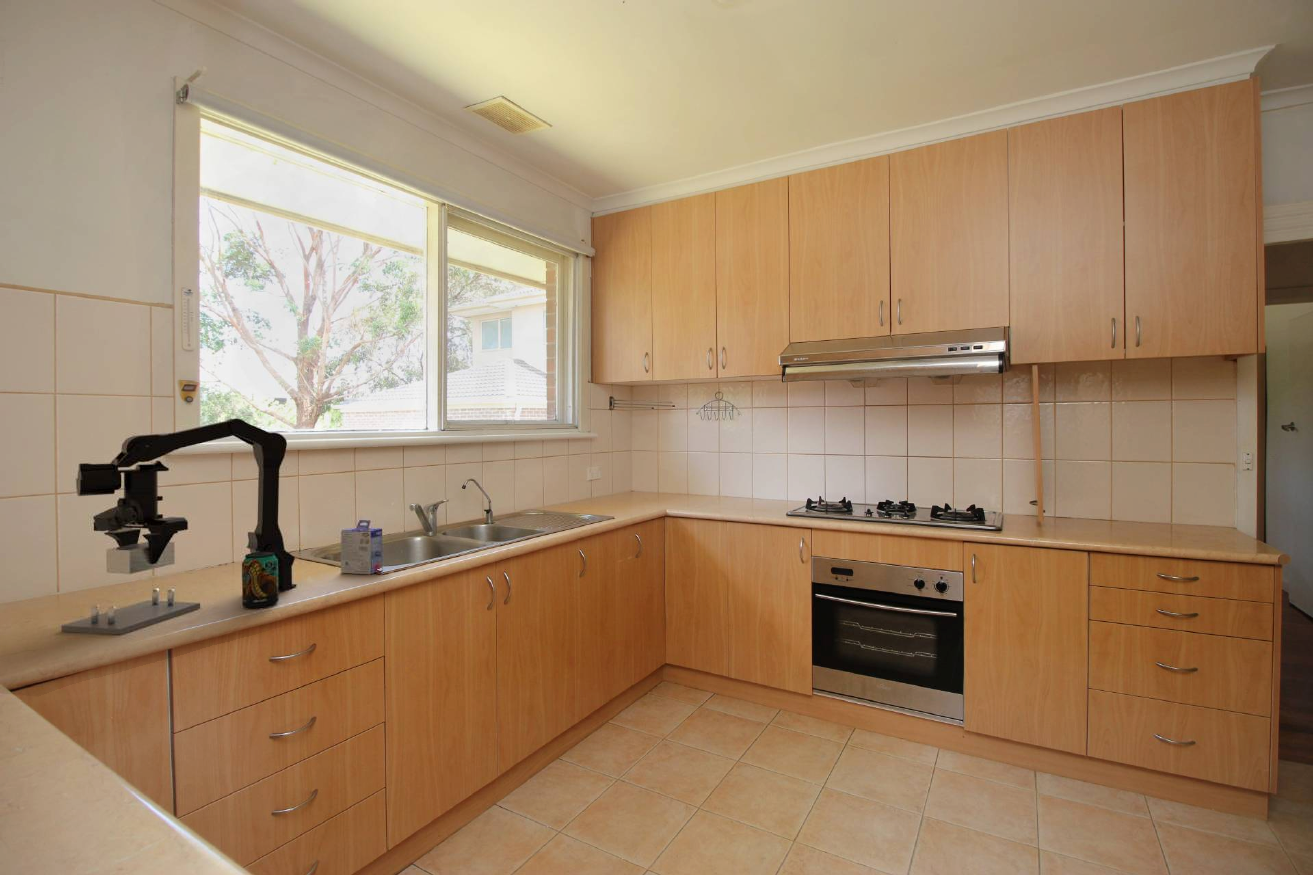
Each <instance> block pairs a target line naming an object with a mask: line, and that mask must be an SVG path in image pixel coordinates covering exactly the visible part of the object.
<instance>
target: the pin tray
mask: <svg viewBox="0 0 1313 875" xmlns="http://www.w3.org/2000/svg"><path fill="white" fill-rule="evenodd" d="M159 590H160V588H159V587H157V588H156V587H155V588H152V589H151V600H150V599H149V600H144V601H140V602H137V603H134V604H131V605H126V606H124V607H123V606H122V607H119V608H117V609H116V605H110V606H107V607H106V608H107V612H102V613H100V608H99V604H95V605H94V604H93V605H90V616H89V617H86V618H83V619H82V618H81V619H79V620H76V621H75V620H74V621H72V622H69V623H65V624H62V625H61V629H60V630H61V632H64V633H65V632H66V633H81V634H96V635H97V634H99V635H111V634H122V635H124V633H125V634H127V633H126V632H128V633H130V631H131V632H133V630H134V631H137V630H140V629H143V628H146V627H148V626H152V625H154V623H155V624H158V623H161V622H163V621H166V619H167V620H170V619H172V617H173V618H175V617H179V616H181V615H184V613H185V614H187V613H191V612H193V611H192V610H194V611H196V609H197V610H198V608H200V609H201V602H186V601H185V602H184V601H175V589H174V588H170V589H169V588H168V589H167V590H166V592H167V597H166V598H167V601H166V600H160V592H159ZM190 611H191V612H190ZM178 615H179V616H178ZM160 621H161V622H160ZM145 626H146V627H145ZM139 628H140V629H139Z"/></svg>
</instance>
